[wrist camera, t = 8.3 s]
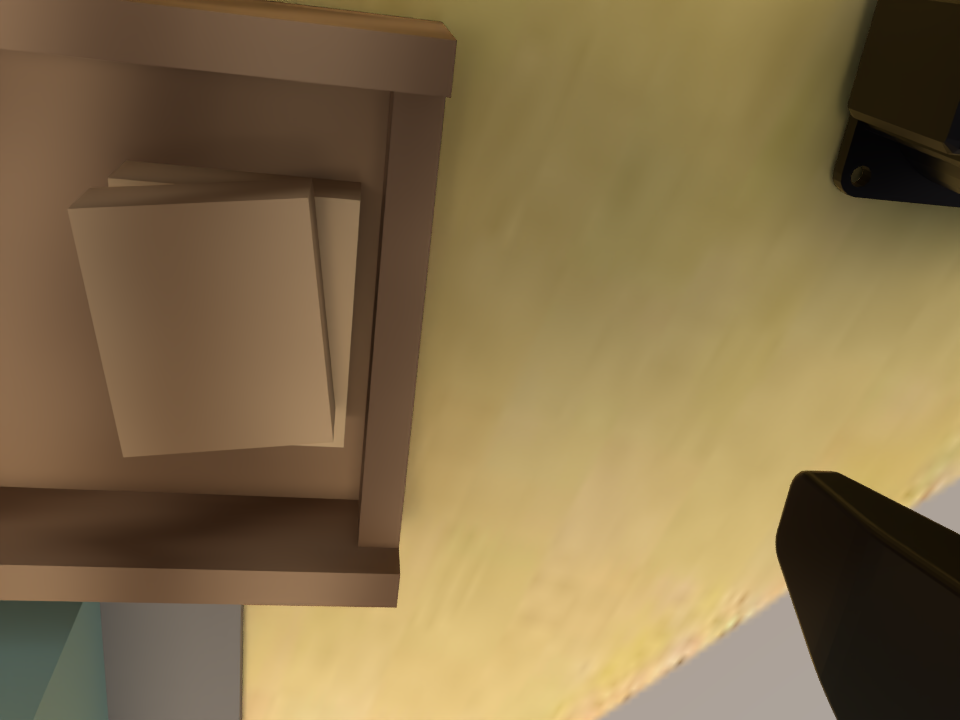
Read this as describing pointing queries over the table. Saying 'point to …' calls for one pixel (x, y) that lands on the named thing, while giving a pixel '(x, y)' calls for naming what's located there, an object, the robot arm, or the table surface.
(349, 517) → the rack
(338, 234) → the offcut
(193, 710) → the mat
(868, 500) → the robot arm
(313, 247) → the offcut
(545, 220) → the table surface
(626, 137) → the table surface
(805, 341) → the table surface
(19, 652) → the teal block
